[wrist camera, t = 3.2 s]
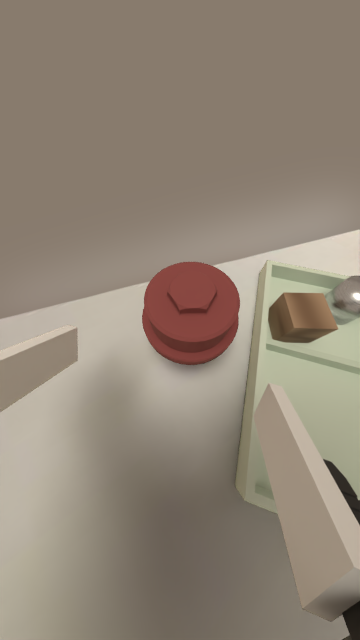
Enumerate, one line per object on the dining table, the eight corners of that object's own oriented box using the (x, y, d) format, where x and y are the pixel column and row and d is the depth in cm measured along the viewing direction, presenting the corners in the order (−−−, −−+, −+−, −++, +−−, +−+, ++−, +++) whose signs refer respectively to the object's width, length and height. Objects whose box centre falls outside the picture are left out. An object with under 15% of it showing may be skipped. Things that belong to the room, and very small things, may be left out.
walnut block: (298, 312, 26) (323, 293, 21) (308, 343, 24) (338, 329, 19) (265, 311, 26) (283, 292, 21) (273, 342, 24) (294, 327, 19)
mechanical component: (142, 329, 25) (197, 300, 28) (175, 390, 22) (236, 351, 24) (112, 272, 14) (207, 233, 17) (168, 376, 11) (283, 306, 13)
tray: (357, 293, 28) (376, 281, 25) (411, 554, 15) (462, 588, 12) (259, 273, 30) (267, 260, 27) (234, 485, 17) (244, 501, 15)
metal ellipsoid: (349, 301, 27) (383, 280, 22) (354, 328, 24) (392, 311, 20) (315, 293, 27) (342, 272, 23) (317, 319, 25) (347, 301, 21)
